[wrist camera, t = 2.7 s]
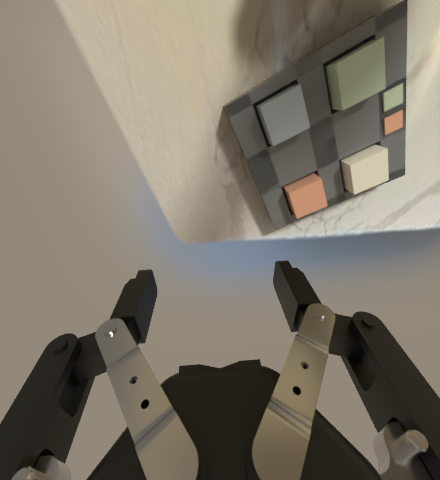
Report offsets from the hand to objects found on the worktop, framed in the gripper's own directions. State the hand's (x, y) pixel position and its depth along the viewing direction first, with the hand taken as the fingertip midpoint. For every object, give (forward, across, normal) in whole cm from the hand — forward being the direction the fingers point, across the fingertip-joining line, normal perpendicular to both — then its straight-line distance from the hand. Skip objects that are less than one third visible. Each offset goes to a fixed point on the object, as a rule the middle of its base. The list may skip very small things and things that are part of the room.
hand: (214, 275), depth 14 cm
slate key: (+18, -9, -8) cm, 22 cm away
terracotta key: (+19, -14, +2) cm, 23 cm away
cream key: (+18, -21, -1) cm, 28 cm away
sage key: (+18, -16, -11) cm, 27 cm away
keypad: (+21, -15, -5) cm, 26 cm away
